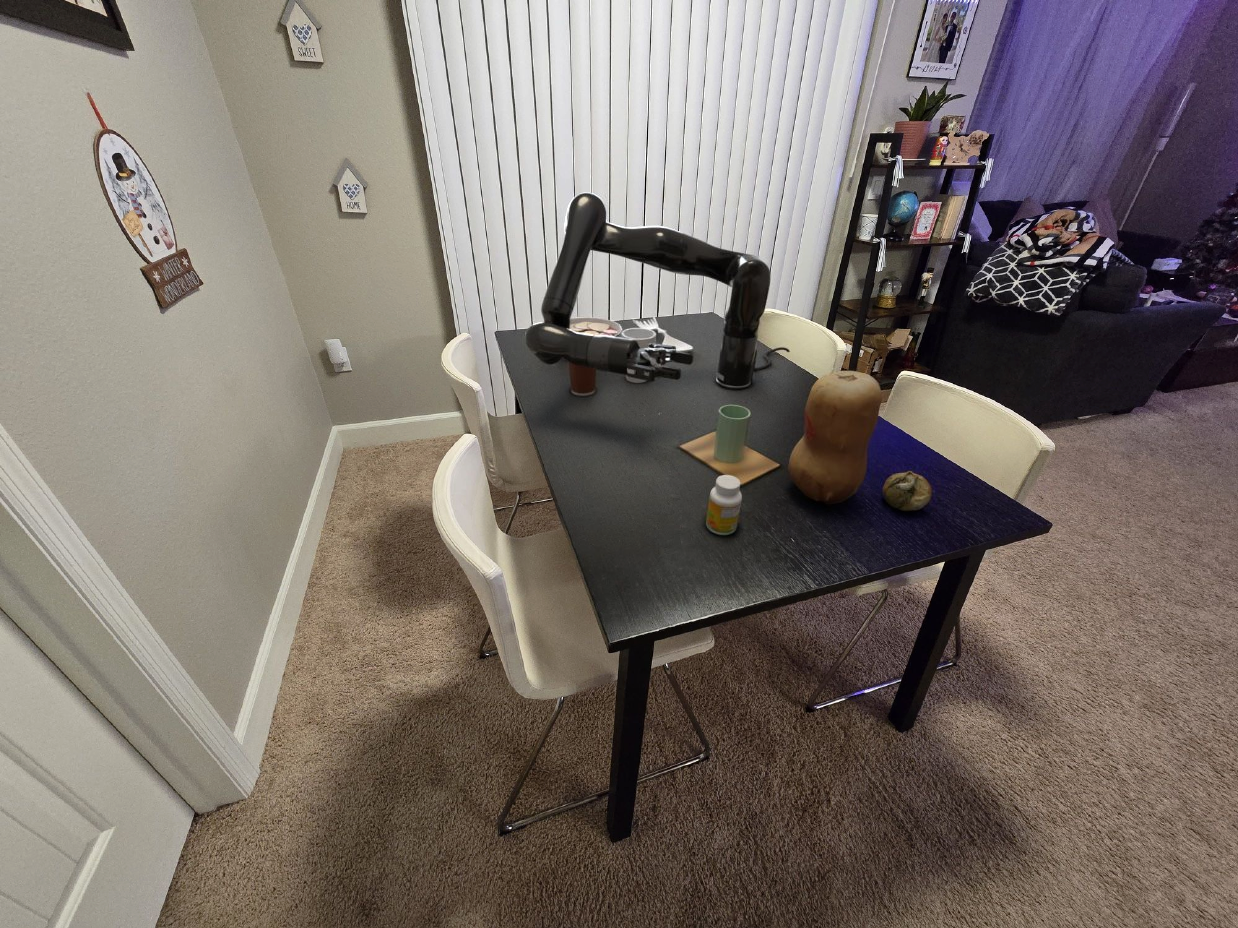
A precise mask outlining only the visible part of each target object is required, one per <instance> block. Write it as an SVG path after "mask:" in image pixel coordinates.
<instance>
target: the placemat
mask: <svg viewBox="0 0 1238 928" xmlns="http://www.w3.org/2000/svg"><path fill="white" fill-rule="evenodd" d="M715 435H716V430H715V431H713V432H710V433H708V434H705V435H703V436H701V437H698V438H695V439H693V440H691V441H688V442H686V443H683V444H681V445H679V447H678V448H679V449H680V450H682V451H684V452H685V453H687V454H689V455H690V456H692V457H693V458H695V459H696V460H698V461H700V462H701V463H703V464H704V465H706V466H708V467H709V468H711V469H712V470H714V471H716V472H717V473H718V474H721V476H722V475H731V476H734V477H736V478H738V479H739V481H740V487H743V486H745V485H747V484H748V483H750V482H753V481H754V480H757V479H759V478H761V477H763V476H765V475H767V474H769V473H770V472H772V471H774V470H776V469H778V468H780V467H781V464H779V463H778V462H776V461H774V460H773V459H770V458H768V457H767V456H765V455H763V454H761V453H759V452H757V451H755V450H754V449H752V448H750V447H749V446H747V445H745V449H744V455H743V458H742V460H741V461H739V462H736V463H725V462H722V461H719V460H717V459H716V458H715V457H714V455H713V449H714V442H715Z"/></svg>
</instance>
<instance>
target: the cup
mask: <svg viewBox="0 0 1238 928" xmlns="http://www.w3.org/2000/svg"><path fill="white" fill-rule="evenodd" d="M751 415H752V414H751V411H750V410H749V408H747V407H745V406H742V405H738V404H726V405H722V406H720V407H719V408H718V414H717V421H716V428H715V431H716V435H715V442H714V449H713V455H714V457H715V458H716V459H717V460H719V461H722V462H725V463H736V462H739V461H741V460H742V458H743V455H744V449H745V446H746V444H747V438H748V431H749V426H750V421H751Z"/></svg>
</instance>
